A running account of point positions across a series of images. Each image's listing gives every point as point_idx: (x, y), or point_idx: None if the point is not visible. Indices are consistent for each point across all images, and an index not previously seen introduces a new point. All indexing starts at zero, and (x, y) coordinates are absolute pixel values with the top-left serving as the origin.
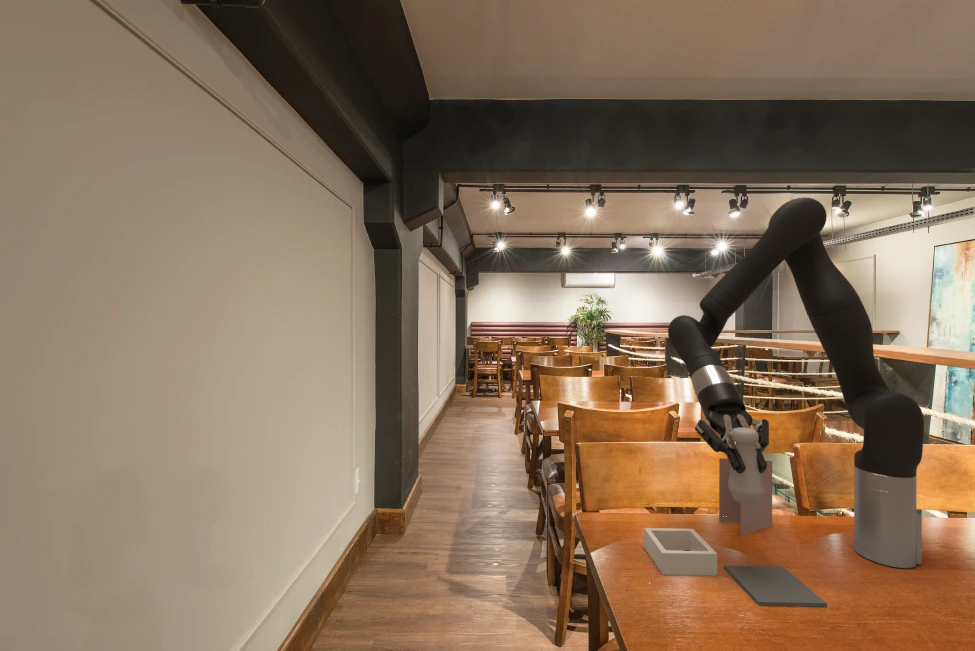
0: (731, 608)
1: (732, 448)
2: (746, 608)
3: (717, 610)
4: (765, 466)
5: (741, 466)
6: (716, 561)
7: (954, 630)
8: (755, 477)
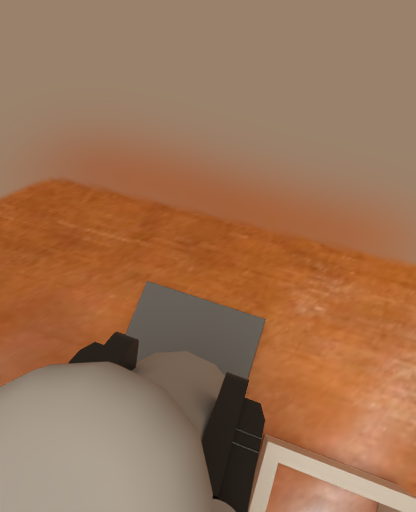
0: (323, 329)
1: (225, 507)
2: (294, 320)
3: (355, 332)
4: (117, 332)
5: (245, 383)
6: (268, 439)
7: (32, 194)
8: (176, 359)
